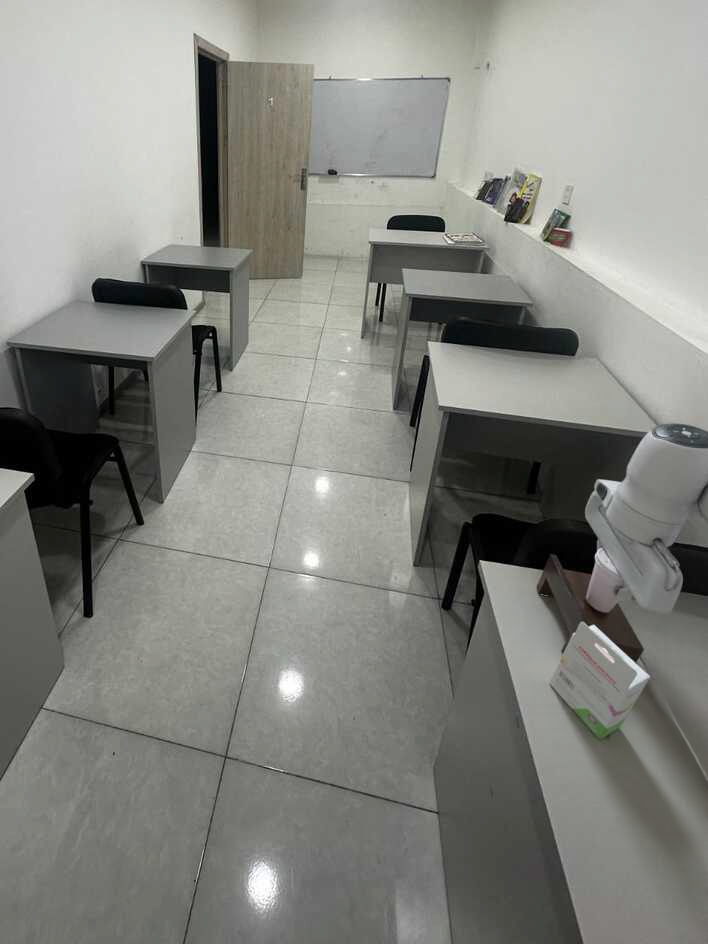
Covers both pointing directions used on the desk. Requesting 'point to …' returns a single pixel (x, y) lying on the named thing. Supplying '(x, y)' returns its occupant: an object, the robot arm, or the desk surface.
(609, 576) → the smoothie
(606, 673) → the ink box
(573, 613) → the shelf
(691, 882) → the desk surface
